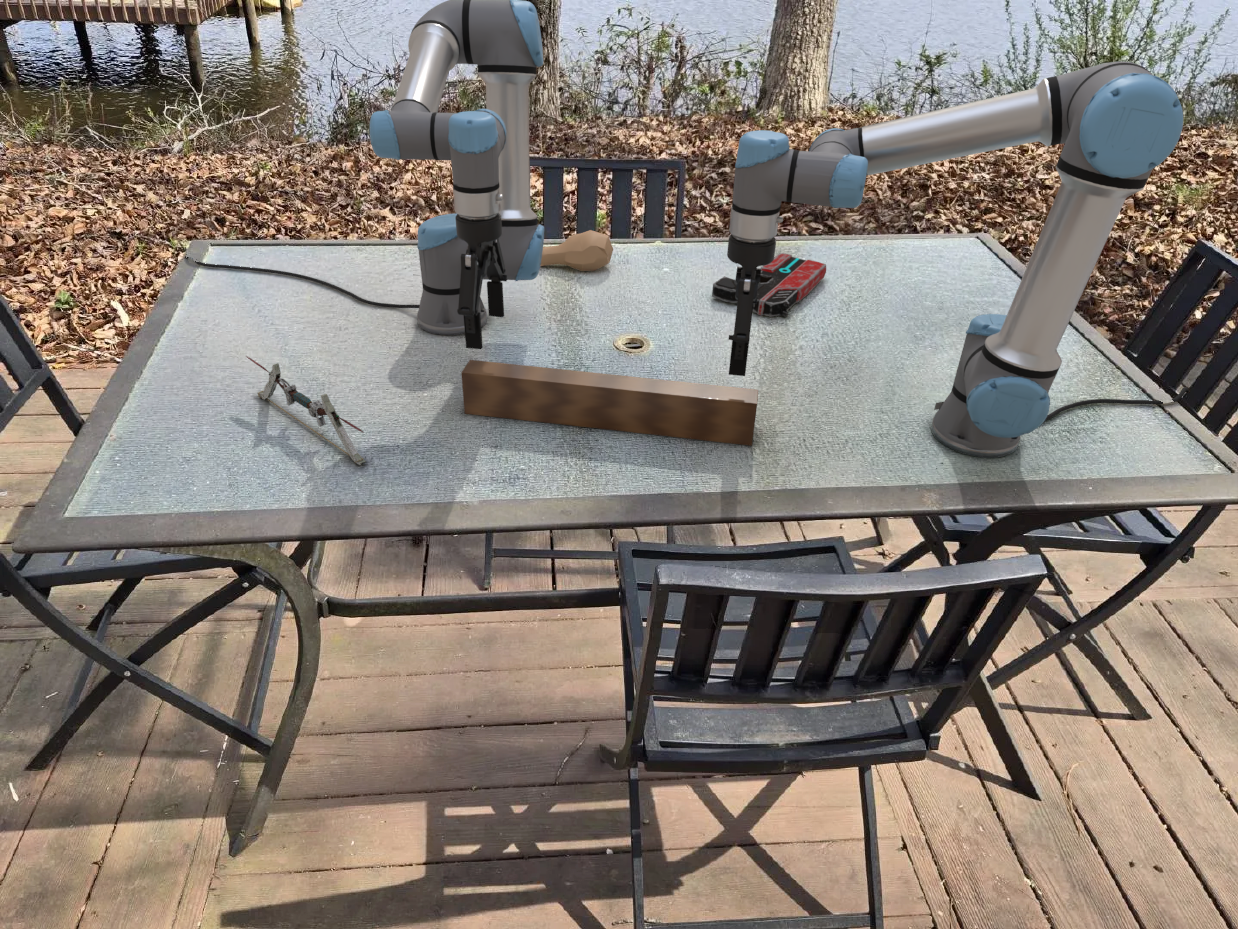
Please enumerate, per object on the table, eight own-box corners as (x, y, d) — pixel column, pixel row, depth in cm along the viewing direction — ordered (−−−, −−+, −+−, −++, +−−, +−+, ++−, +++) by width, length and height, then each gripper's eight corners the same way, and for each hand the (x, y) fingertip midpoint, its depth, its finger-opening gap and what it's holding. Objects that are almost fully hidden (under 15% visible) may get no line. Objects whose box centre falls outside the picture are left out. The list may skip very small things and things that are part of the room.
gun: (708, 284, 207) (784, 305, 199) (760, 245, 229) (831, 262, 221) (706, 302, 209) (781, 323, 201) (758, 261, 231) (828, 278, 223)
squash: (614, 275, 223) (610, 243, 217) (537, 282, 224) (531, 251, 218) (615, 253, 231) (611, 222, 224) (540, 260, 232) (534, 229, 226)
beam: (464, 413, 164) (460, 372, 159) (473, 400, 168) (469, 359, 163) (751, 445, 157) (757, 403, 152) (753, 430, 161) (758, 389, 156)
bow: (375, 468, 148) (367, 417, 142) (366, 472, 146) (358, 421, 141) (259, 389, 169) (248, 342, 163) (250, 392, 168) (239, 345, 162)
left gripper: (477, 240, 134) (485, 364, 146) (519, 193, 154) (524, 305, 166) (430, 236, 135) (442, 360, 146) (478, 190, 155) (485, 302, 167)
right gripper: (774, 265, 128) (758, 393, 140) (778, 212, 148) (763, 327, 160) (723, 261, 129) (711, 388, 141) (734, 209, 149) (722, 324, 161)
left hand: (485, 331), depth 156 cm, fingers open, 13 cm apart
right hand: (739, 356), depth 150 cm, fingers open, 13 cm apart
